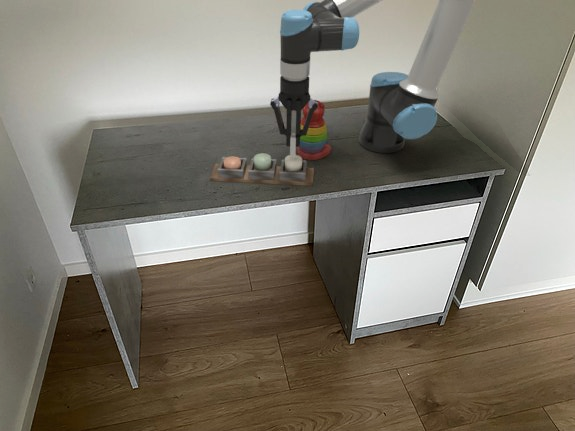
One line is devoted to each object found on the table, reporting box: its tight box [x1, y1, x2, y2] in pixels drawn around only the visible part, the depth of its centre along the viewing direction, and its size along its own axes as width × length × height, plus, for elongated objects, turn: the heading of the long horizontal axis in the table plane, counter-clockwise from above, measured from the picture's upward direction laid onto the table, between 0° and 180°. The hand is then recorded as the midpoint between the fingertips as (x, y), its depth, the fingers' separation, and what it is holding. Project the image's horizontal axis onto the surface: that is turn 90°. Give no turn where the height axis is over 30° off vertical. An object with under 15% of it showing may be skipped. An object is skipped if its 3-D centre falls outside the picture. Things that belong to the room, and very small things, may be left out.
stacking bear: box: [296, 99, 332, 161], centre depth 145 cm, size 11×10×18 cm
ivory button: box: [284, 154, 303, 172], centre depth 136 cm, size 5×5×3 cm
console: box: [210, 156, 315, 187], centre depth 139 cm, size 30×8×4 cm, turn 86°
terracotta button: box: [224, 155, 241, 170], centre depth 138 cm, size 5×5×3 cm
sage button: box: [253, 152, 272, 171], centre depth 137 cm, size 5×5×3 cm
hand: (292, 155), depth 135 cm, fingers closed
